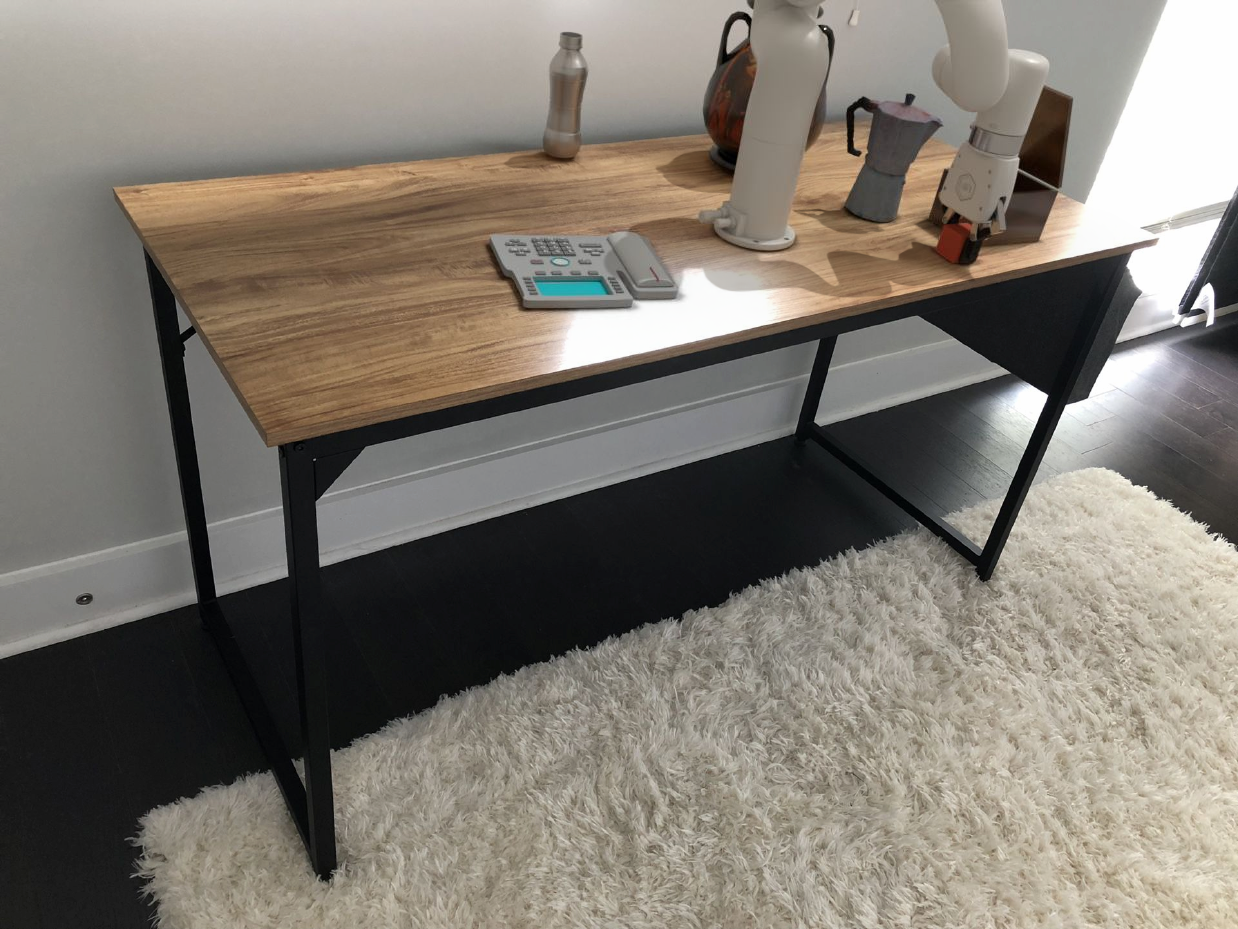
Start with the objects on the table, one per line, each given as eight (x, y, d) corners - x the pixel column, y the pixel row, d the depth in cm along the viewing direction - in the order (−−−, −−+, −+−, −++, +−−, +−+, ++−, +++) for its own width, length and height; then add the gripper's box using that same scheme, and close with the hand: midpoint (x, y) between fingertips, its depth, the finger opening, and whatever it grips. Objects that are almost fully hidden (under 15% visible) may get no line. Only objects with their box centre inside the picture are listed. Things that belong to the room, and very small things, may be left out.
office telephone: (646, 226, 143) (692, 289, 128) (644, 243, 144) (688, 307, 129) (489, 225, 136) (518, 291, 121) (488, 242, 138) (516, 310, 122)
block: (952, 263, 152) (962, 236, 150) (934, 251, 155) (943, 224, 153) (976, 260, 154) (985, 234, 152) (957, 248, 157) (967, 222, 155)
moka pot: (914, 231, 161) (953, 108, 149) (822, 213, 163) (853, 90, 151) (912, 210, 169) (948, 92, 157) (824, 194, 170) (853, 76, 159)
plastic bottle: (537, 149, 171) (546, 28, 160) (574, 149, 173) (585, 30, 162) (546, 162, 167) (556, 38, 155) (584, 162, 169) (596, 40, 157)
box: (973, 247, 159) (991, 195, 153) (927, 218, 167) (944, 168, 162) (1038, 241, 164) (1058, 191, 159) (991, 214, 173) (1009, 165, 167)
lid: (1069, 99, 148) (1073, 97, 148) (1016, 76, 156) (1020, 74, 157) (1057, 189, 159) (1061, 187, 159) (1008, 163, 167) (1012, 161, 167)
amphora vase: (810, 158, 185) (848, -1, 169) (811, 198, 168) (854, 25, 152) (698, 139, 186) (725, -21, 170) (688, 177, 169) (717, 3, 153)
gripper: (939, 122, 148) (904, 234, 159) (1016, 162, 136) (973, 280, 147) (976, 121, 151) (939, 231, 162) (1055, 160, 139) (1010, 276, 150)
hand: (956, 253), depth 155 cm, fingers closed on block, 4 cm apart
